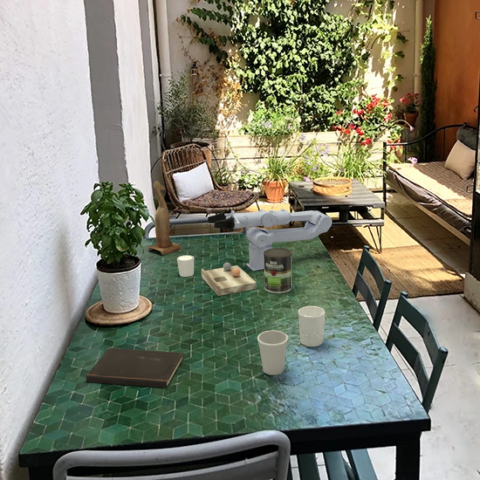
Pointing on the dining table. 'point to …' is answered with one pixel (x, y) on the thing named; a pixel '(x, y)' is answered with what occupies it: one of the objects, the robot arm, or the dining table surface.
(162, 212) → the bird sculpture
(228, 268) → the grey ball
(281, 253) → the coffee can
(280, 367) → the dixie cup
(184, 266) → the white tapered cylinder
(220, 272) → the light wood flat tray
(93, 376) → the hardcover book
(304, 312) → the white cup
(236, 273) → the ball
